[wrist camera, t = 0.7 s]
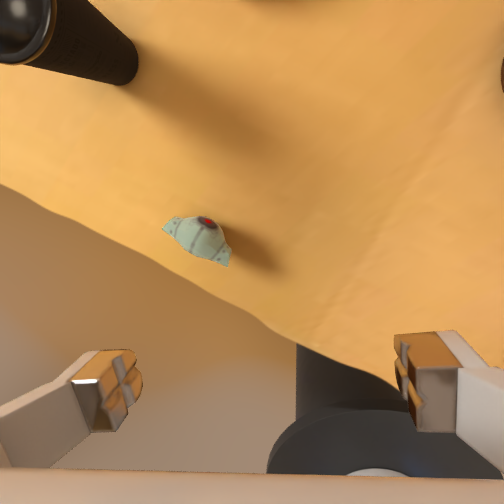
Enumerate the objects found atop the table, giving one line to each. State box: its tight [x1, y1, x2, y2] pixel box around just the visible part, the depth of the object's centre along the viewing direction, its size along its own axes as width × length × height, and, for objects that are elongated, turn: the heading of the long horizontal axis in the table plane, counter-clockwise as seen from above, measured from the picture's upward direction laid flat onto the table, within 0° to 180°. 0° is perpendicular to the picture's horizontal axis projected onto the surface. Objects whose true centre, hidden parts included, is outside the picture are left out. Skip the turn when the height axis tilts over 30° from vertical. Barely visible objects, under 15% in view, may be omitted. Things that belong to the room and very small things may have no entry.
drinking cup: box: [0, 0, 138, 85], centre depth 22 cm, size 8×8×20 cm
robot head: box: [162, 216, 232, 267], centre depth 33 cm, size 8×4×7 cm, turn 61°
